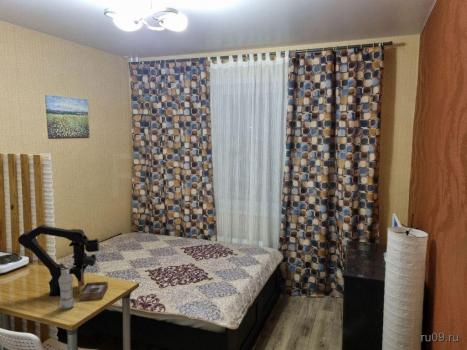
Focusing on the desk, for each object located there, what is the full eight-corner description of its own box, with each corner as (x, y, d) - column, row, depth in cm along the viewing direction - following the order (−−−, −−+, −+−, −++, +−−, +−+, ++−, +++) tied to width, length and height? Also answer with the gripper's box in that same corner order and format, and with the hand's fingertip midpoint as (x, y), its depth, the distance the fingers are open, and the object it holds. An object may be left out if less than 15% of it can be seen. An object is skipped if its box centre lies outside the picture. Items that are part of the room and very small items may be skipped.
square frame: (80, 300, 176) (79, 293, 176) (87, 289, 189) (87, 282, 188) (101, 299, 177) (101, 291, 177) (107, 288, 190) (107, 281, 190)
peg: (77, 286, 185) (76, 271, 184) (79, 284, 189) (78, 268, 188) (83, 286, 186) (82, 270, 185) (85, 283, 189) (84, 268, 188)
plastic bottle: (63, 304, 172) (60, 266, 170) (76, 304, 172) (74, 266, 170) (57, 311, 166) (54, 272, 163) (71, 310, 166) (69, 271, 164)
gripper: (89, 258, 177) (91, 286, 179) (99, 246, 195) (100, 272, 197) (67, 259, 176) (69, 287, 177) (78, 247, 194) (80, 273, 196)
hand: (80, 280), depth 187 cm, fingers closed on peg, 3 cm apart
